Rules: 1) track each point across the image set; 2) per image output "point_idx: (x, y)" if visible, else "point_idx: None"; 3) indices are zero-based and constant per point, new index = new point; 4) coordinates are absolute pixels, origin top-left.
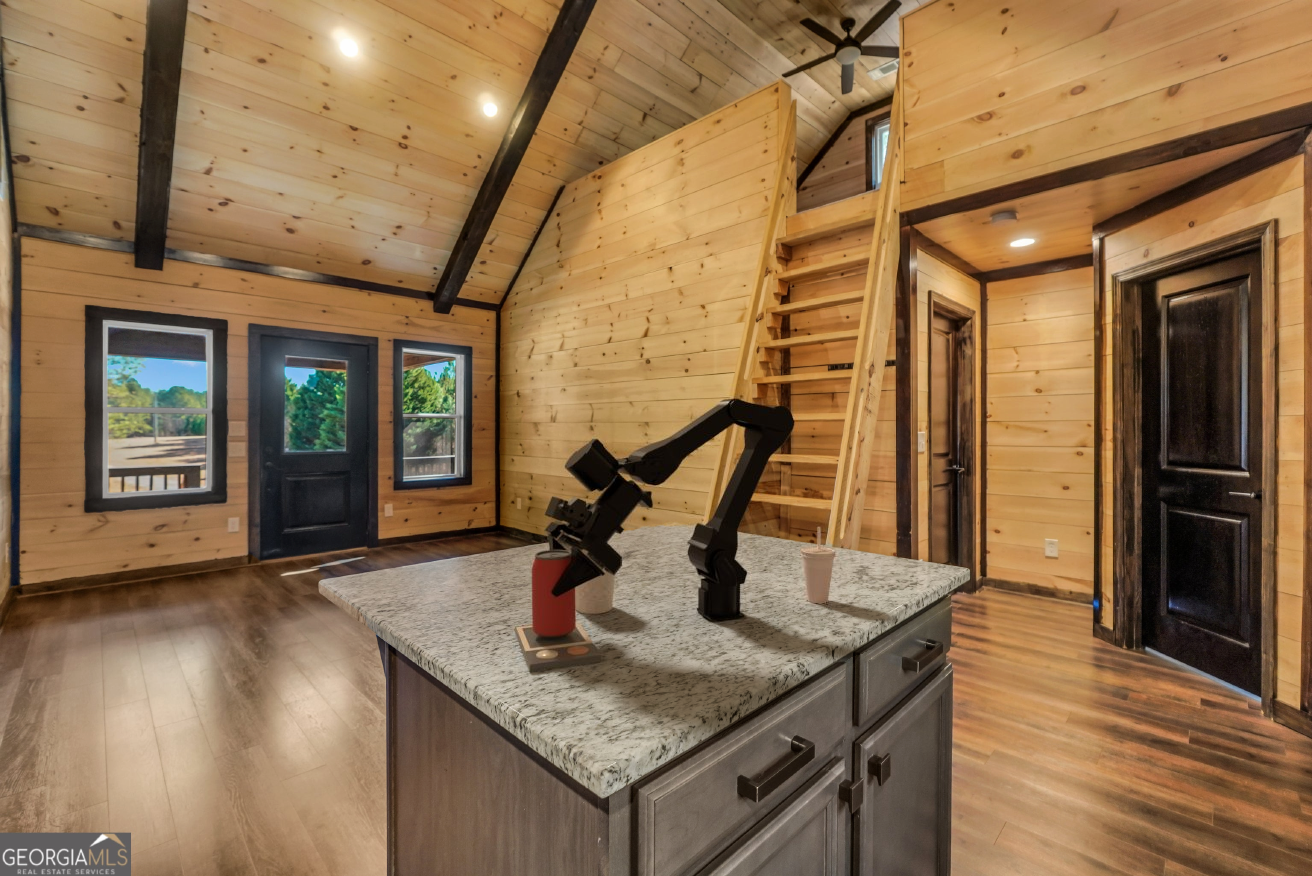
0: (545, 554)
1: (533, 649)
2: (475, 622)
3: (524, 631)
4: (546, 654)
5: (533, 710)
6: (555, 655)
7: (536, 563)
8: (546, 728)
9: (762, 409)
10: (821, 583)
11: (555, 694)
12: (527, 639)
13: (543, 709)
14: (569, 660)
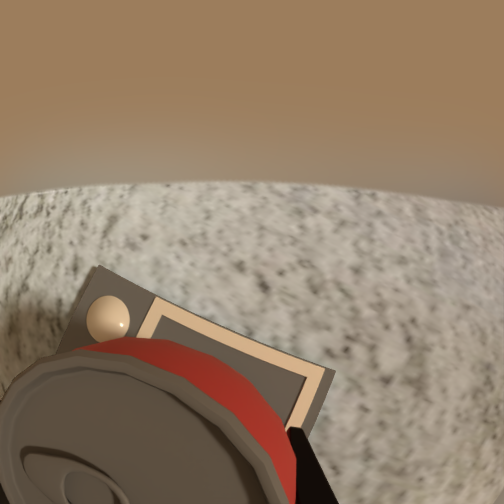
0: (209, 500)
1: (150, 315)
2: (442, 324)
3: (283, 372)
4: (106, 316)
5: (28, 208)
6: (88, 326)
7: (131, 347)
8: (2, 200)
9: None
10: None
11: (28, 252)
12: (224, 347)
13: (21, 218)
14: (63, 336)
